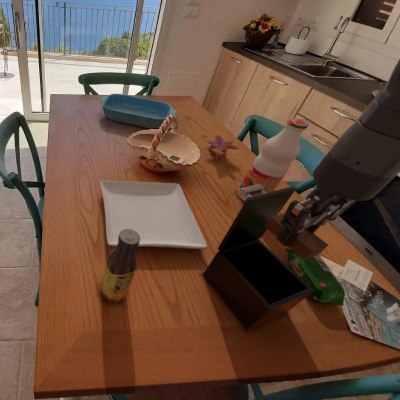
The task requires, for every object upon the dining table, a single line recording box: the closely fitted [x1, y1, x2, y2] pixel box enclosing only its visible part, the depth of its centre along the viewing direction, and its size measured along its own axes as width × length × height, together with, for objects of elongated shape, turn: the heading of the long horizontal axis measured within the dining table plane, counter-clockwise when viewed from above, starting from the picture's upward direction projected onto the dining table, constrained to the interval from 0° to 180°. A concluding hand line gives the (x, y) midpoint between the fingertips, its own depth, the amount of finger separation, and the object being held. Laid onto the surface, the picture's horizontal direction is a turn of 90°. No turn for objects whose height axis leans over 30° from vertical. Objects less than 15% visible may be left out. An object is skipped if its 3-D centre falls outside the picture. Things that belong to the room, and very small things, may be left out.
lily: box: [204, 134, 240, 160], centre depth 109 cm, size 12×12×10 cm
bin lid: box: [217, 184, 297, 251], centre depth 60 cm, size 16×13×6 cm
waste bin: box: [202, 239, 314, 331], centre depth 62 cm, size 15×13×10 cm
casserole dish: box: [100, 93, 177, 130], centre depth 132 cm, size 37×22×7 cm, turn 71°
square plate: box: [100, 180, 208, 250], centre depth 81 cm, size 27×27×4 cm
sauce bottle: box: [100, 229, 140, 303], centre depth 57 cm, size 7×6×20 cm
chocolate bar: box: [265, 212, 329, 260], centre depth 47 cm, size 8×4×2 cm, turn 21°
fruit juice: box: [236, 117, 309, 202], centre depth 84 cm, size 9×9×28 cm
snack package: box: [284, 247, 346, 306], centre depth 67 cm, size 7×16×5 cm, turn 177°
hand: (291, 238), depth 48 cm, fingers closed on chocolate bar, 4 cm apart
